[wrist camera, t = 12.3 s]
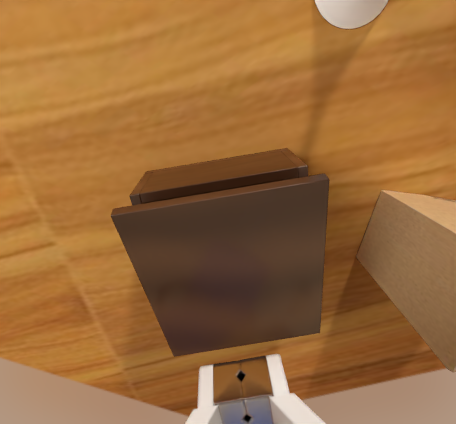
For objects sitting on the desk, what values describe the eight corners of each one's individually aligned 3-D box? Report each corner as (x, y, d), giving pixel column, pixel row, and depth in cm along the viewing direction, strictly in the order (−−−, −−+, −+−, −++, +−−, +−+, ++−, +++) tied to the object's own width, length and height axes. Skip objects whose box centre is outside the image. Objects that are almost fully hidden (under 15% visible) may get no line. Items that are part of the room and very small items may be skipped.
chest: (145, 171, 30) (129, 195, 23) (287, 147, 30) (308, 165, 23) (180, 302, 36) (174, 349, 29) (298, 283, 36) (317, 325, 29)
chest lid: (112, 208, 20) (110, 215, 19) (325, 172, 20) (329, 179, 19) (174, 348, 29) (174, 356, 29) (317, 325, 29) (320, 333, 29)
